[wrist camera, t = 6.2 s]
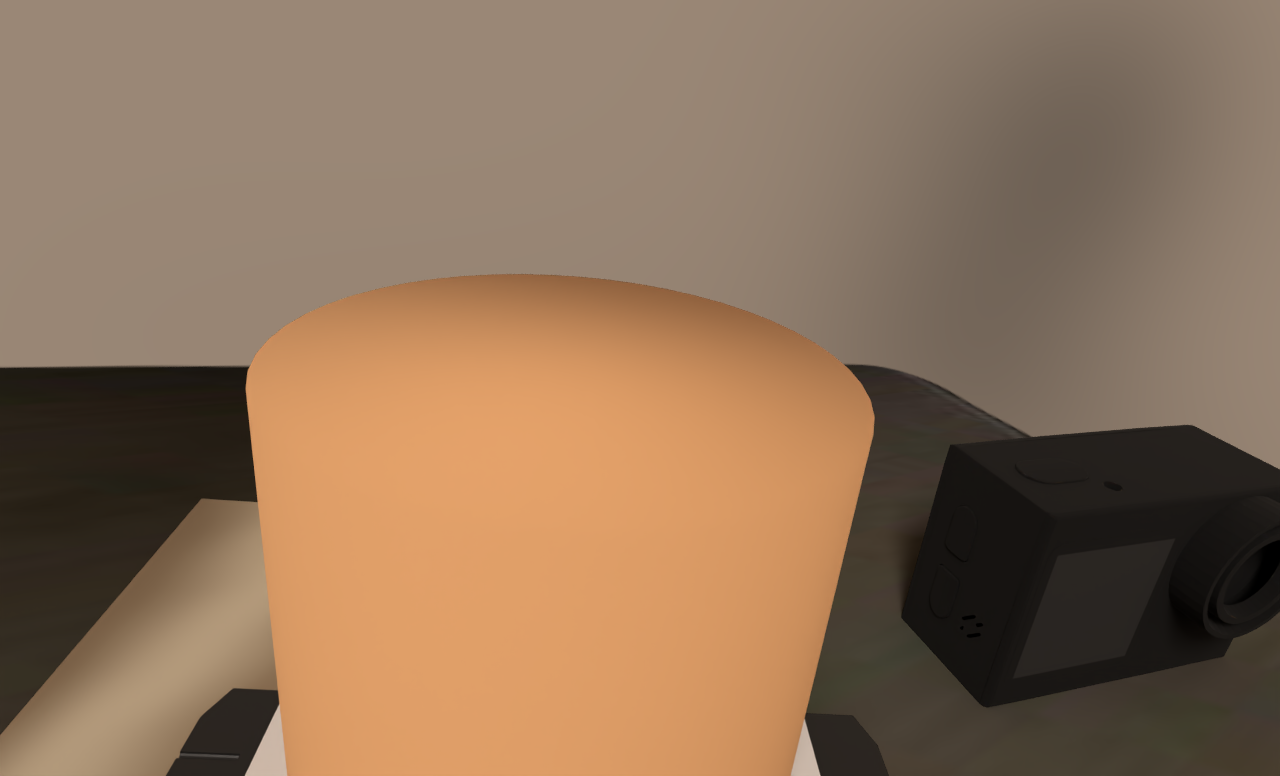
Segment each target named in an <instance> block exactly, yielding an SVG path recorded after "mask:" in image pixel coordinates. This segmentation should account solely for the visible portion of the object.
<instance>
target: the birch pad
mask: <svg viewBox="0 0 1280 776" xmlns="http://www.w3.org/2000/svg"><path fill="white" fill-rule="evenodd" d="M233 688H242V689H263V690H278V685H277V676H276V666H275V657H274V648H273V639H272V629H271V620H270V611H269V601H268V592H267V583H266V573H265V564H264V555H263V545H262V536H261V527H260V517H259V508H258V502H245V501H229V500H214V499H201V500H200V501H199V502H198V504H197V505H196V506H195V507H194V508H193V509H192V511H191V512H190V513H189V514H188V515H187V516H186V518H185V519H184V520H183V521H182V522H181V524H180V525H179V526H178V527H177V528H176V529H175V531H174V532H173V533H172V534H171V535H170V536H169V538H168V539H167V540H166V541H165V542H164V543H163V545H162V546H161V547H160V548H159V549H158V551H157V552H156V553H155V554H154V555H153V556H152V558H151V559H150V560H149V561H148V562H147V563H146V565H145V566H144V567H143V568H142V569H141V570H140V572H139V573H138V574H137V575H136V576H135V578H134V579H133V580H132V581H131V582H130V583H129V585H128V586H127V587H126V588H125V589H124V590H123V592H122V593H121V594H120V595H119V596H118V597H117V599H116V600H115V601H114V602H113V603H112V605H111V606H110V607H109V608H108V609H107V610H106V612H105V613H104V614H103V615H102V616H101V617H100V619H99V620H98V621H97V622H96V623H95V625H94V626H93V627H92V628H91V629H90V630H89V632H88V633H87V634H86V635H85V636H84V637H83V639H82V640H81V641H80V642H79V643H78V644H77V646H76V647H75V648H74V649H73V650H72V652H71V653H70V654H69V655H68V656H67V657H66V659H65V660H64V661H63V662H62V663H61V664H60V666H59V667H58V668H57V669H56V670H55V671H54V673H53V674H52V675H51V676H50V677H49V679H48V680H47V681H46V682H45V683H44V684H43V686H42V687H41V688H40V689H39V690H38V691H37V693H36V694H35V695H34V696H33V697H32V698H31V700H30V701H29V702H28V703H27V704H26V706H25V707H24V708H23V709H22V710H21V711H20V713H19V714H18V715H17V716H16V717H15V718H14V720H13V721H12V722H11V723H10V724H9V726H8V727H7V728H6V729H5V730H4V731H3V733H2V734H1V735H0V776H166V774H167V773H168V771H169V769H170V767H171V766H172V764H173V762H174V761H175V759H176V758H179V755H180V750H181V749H182V747H183V745H184V744H185V742H186V740H187V739H188V737H189V735H190V733H191V732H192V730H193V728H194V727H195V725H196V723H197V721H198V720H199V718H200V717H201V716H202V715H203V714H204V713H205V712H206V711H207V710H209V709H210V708H211V707H212V706H213V705H214V704H216V703H217V702H218V701H219V700H220V699H221V698H222V697H224V696H225V695H226V694H227V693H228V692H229V691H230V690H232V689H233Z"/></svg>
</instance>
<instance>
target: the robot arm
mask: <svg viewBox="0 0 1280 776" xmlns="http://www.w3.org/2000/svg"><path fill="white" fill-rule="evenodd" d="M166 776H287V769H286V760H285V750H284V741H283V732H282V722H281V713H280V704H279V694H278V690H263V689H242V688H233V689H232V690H230V691H229V692H228V693H227V694H226V695H225V696H224V697H222V698H221V699H220V700H219V701H218V702H217V703H216V704H214V705H213V706H212V707H211V708H210V709H209V710H207V711H206V712H205V713H204V714H203V715H202V716H201V717H200V718H199V720H198V721H197V723H196V725H195V727H194V728H193V730H192V732H191V733H190V735H189V737H188V739H187V740H186V742H185V744H184V745H183V747H182V749H181V750H180V755H179V758H176V759H175V761H174V762H173V764H172V766H171V767H170V769H169V771H168V773H167V774H166ZM791 776H889V775H888V772H887V769H886V767H885V764H884V761H883V759H882V756H881V753H880V751H879V748H878V745H877V744H876V743H875V742H874V740H873V739H872V738H871V737H870V736H869V734H868V733H867V732H866V731H865V730H864V728H863V727H862V726H861V725H860V724H859V722H858V721H857V720H856V719H855V718H854V716H852V715H832V714H811V713H806V714H805V718H804V722H803V726H802V731H801V735H800V739H799V743H798V747H797V751H796V755H795V760H794V764H793V768H792V772H791Z"/></svg>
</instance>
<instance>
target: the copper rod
mask: <svg viewBox="0 0 1280 776" xmlns="http://www.w3.org/2000/svg"><path fill="white" fill-rule="evenodd" d="M246 396H247V406H248V415H249V424H250V434H251V443H252V452H253V462H254V471H255V480H256V490H257V499H258V508H259V517H260V527H261V536H262V545H263V555H264V564H265V573H266V583H267V592H268V601H269V611H270V620H271V629H272V639H273V648H274V657H275V666H276V676H277V685H278V694H279V704H280V713H281V722H282V732H283V741H284V750H285V760H286V769H287V776H791V772H792V768H793V764H794V760H795V755H796V751H797V747H798V743H799V739H800V735H801V731H802V726H803V722H804V718H805V714H806V710H807V706H808V702H809V697H810V693H811V689H812V685H813V681H814V677H815V673H816V669H817V664H818V660H819V656H820V652H821V648H822V644H823V640H824V635H825V631H826V627H827V623H828V619H829V615H830V611H831V606H832V602H833V598H834V594H835V590H836V586H837V582H838V578H839V573H840V569H841V565H842V561H843V557H844V553H845V549H846V544H847V540H848V536H849V532H850V528H851V524H852V520H853V515H854V511H855V507H856V503H857V499H858V495H859V491H860V487H861V482H862V478H863V474H864V470H865V466H866V462H867V458H868V453H869V449H870V445H871V441H872V437H873V430H874V413H873V409H872V405H871V400H870V399H869V397H868V395H867V393H866V391H865V389H864V388H863V386H862V384H861V383H860V382H859V381H858V379H857V378H856V377H855V376H854V375H853V373H852V372H851V371H850V370H849V369H848V368H847V367H846V366H845V365H843V364H842V363H841V362H840V361H839V360H837V358H835V357H834V356H833V355H831V354H830V353H829V352H827V351H826V350H824V349H823V348H821V347H820V346H819V345H817V344H816V343H814V342H812V341H811V340H809V339H807V338H805V337H803V336H802V335H800V334H798V333H796V332H795V331H792V330H790V329H788V328H786V327H784V326H782V325H780V324H777V323H775V322H773V321H771V320H768V319H766V318H763V317H761V316H758V315H755V314H753V313H750V312H748V311H745V310H742V309H739V308H736V307H733V306H730V305H727V304H724V303H721V302H717V301H713V300H710V299H706V298H702V297H699V296H695V295H691V294H686V293H681V292H677V291H673V290H668V289H663V288H657V287H652V286H647V285H642V284H635V283H628V282H621V281H614V280H606V279H596V278H586V277H574V276H558V275H533V274H507V275H506V274H502V275H478V276H477V275H476V276H460V277H450V278H440V279H432V280H424V281H417V282H410V283H405V284H399V285H394V286H389V287H384V288H380V289H375V290H372V291H368V292H364V293H361V294H356V295H353V296H350V297H347V298H344V299H341V300H338V301H335V302H332V303H329V304H327V305H325V306H322V307H320V308H318V309H316V310H313V311H311V312H309V313H307V314H305V315H303V316H301V317H299V318H298V319H296V320H294V321H293V322H291V323H289V324H287V325H286V326H284V327H283V328H282V329H281V330H279V331H278V332H277V333H276V334H274V335H273V336H272V337H270V338H269V339H268V340H267V342H266V343H265V344H264V345H263V346H262V347H261V349H260V350H259V351H258V352H257V353H256V355H255V357H254V359H253V361H252V363H251V365H250V367H249V369H248V373H247V382H246Z"/></svg>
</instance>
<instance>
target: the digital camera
mask: <svg viewBox="0 0 1280 776" xmlns="http://www.w3.org/2000/svg"><path fill="white" fill-rule="evenodd" d="M1012 607H1013V608H1012ZM1011 610H1012V611H1011ZM1279 612H1280V469H1278V468H1276V467H1274V466H1272V465H1270V464H1268V463H1266V462H1264V461H1262V460H1260V459H1258V458H1256V457H1254V456H1252V455H1250V454H1248V453H1246V452H1244V451H1242V450H1240V449H1238V448H1236V447H1234V446H1232V445H1230V444H1228V443H1226V442H1224V441H1222V440H1220V439H1218V438H1216V437H1215V436H1212V435H1211V434H1209V433H1207V432H1205V431H1202V430H1201V429H1199V428H1197V427H1195V426H1192V425H1180V426H1164V427H1148V428H1135V429H1123V430H1111V431H1099V432H1087V433H1075V434H1063V435H1050V436H1040V437H1028V438H1018V439H1007V440H996V441H986V442H975V443H965V444H954V445H950V448H949V451H948V454H947V457H946V460H945V463H944V467H943V470H942V474H941V478H940V481H939V485H938V488H937V492H936V495H935V499H934V503H933V506H932V510H931V513H930V517H929V520H928V524H927V528H926V531H925V535H924V538H923V542H922V546H921V549H920V553H919V556H918V560H917V563H916V567H915V571H914V574H913V578H912V581H911V585H910V588H909V592H908V596H907V599H906V603H905V606H904V610H903V614H902V619H903V620H904V621H905V622H906V623H907V624H908V625H909V626H910V627H911V628H912V630H913V631H914V632H915V633H916V634H917V635H918V636H919V637H920V638H921V639H922V641H923V642H924V643H925V644H926V645H927V646H928V647H929V648H930V649H931V650H932V652H933V653H934V654H935V655H936V656H937V657H938V658H939V659H940V660H941V661H942V663H943V664H944V665H945V666H946V667H947V668H948V669H949V670H950V671H951V672H952V674H953V675H954V676H955V677H956V678H957V679H958V680H959V681H960V682H961V684H962V685H963V686H964V687H965V688H966V689H967V690H968V691H969V692H970V693H971V695H972V696H973V697H974V698H975V699H976V700H977V701H978V702H979V703H980V704H981V705H983V706H985V707H990V706H996V705H1001V704H1006V703H1011V702H1016V701H1021V700H1025V699H1030V698H1035V697H1039V696H1044V695H1049V694H1053V693H1058V692H1062V691H1067V690H1072V689H1076V688H1081V687H1086V686H1090V685H1095V684H1100V683H1104V682H1109V681H1113V680H1118V679H1123V678H1127V677H1132V676H1137V675H1141V674H1146V673H1151V672H1155V671H1159V670H1164V669H1168V668H1173V667H1177V666H1182V665H1186V664H1191V663H1195V662H1200V661H1204V660H1209V659H1213V658H1218V657H1222V656H1224V655H1225V653H1226V651H1227V649H1228V647H1229V645H1230V643H1231V641H1232V639H1233V638H1235V637H1239V636H1242V635H1244V634H1247V633H1249V632H1251V631H1253V630H1255V629H1257V628H1258V627H1260V626H1262V625H1263V624H1265V623H1266V622H1268V621H1269V620H1270V619H1272V618H1273V617H1274V616H1275V615H1276V614H1278V613H1279ZM1010 613H1011V614H1010ZM970 615H975V616H976V618H974V619H968V620H963V619H962V617H964V616H970ZM1009 616H1010V617H1009ZM1008 619H1009V620H1008ZM976 623H982V624H983V626H982V627H977V626H976ZM1006 624H1007V625H1006ZM961 626H964V628H963V630H961V629H960V627H961ZM1002 636H1003V637H1002ZM1001 639H1002V640H1001ZM1000 642H1001V643H1000ZM999 644H1000V645H999ZM998 647H999V648H998ZM997 650H998V651H997ZM996 653H997V654H996ZM995 656H996V657H995ZM994 659H995V660H994ZM993 662H994V663H993ZM992 664H993V665H992ZM991 667H992V668H991ZM990 670H991V671H990ZM989 673H990V674H989ZM981 696H982V697H981ZM980 699H981V700H980Z"/></svg>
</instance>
